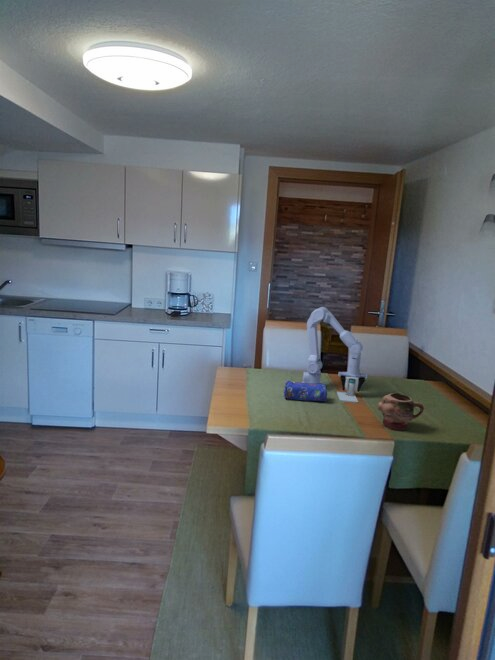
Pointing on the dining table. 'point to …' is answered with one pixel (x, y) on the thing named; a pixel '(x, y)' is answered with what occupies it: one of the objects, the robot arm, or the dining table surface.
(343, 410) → the dining table surface
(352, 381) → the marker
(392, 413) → the brown sculpted mug
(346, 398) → the note pad
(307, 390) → the pencil case
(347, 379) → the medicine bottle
